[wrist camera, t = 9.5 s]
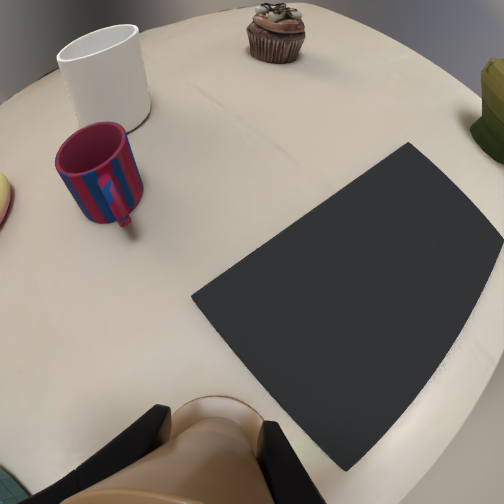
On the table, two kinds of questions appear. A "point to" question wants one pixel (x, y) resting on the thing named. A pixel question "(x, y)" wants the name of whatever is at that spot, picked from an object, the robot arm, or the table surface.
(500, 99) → the vase
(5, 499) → the bowl
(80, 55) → the mug
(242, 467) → the stick
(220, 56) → the table surface
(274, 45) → the cupcake
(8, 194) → the donut
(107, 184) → the cup
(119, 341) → the table surface
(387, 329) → the mat
